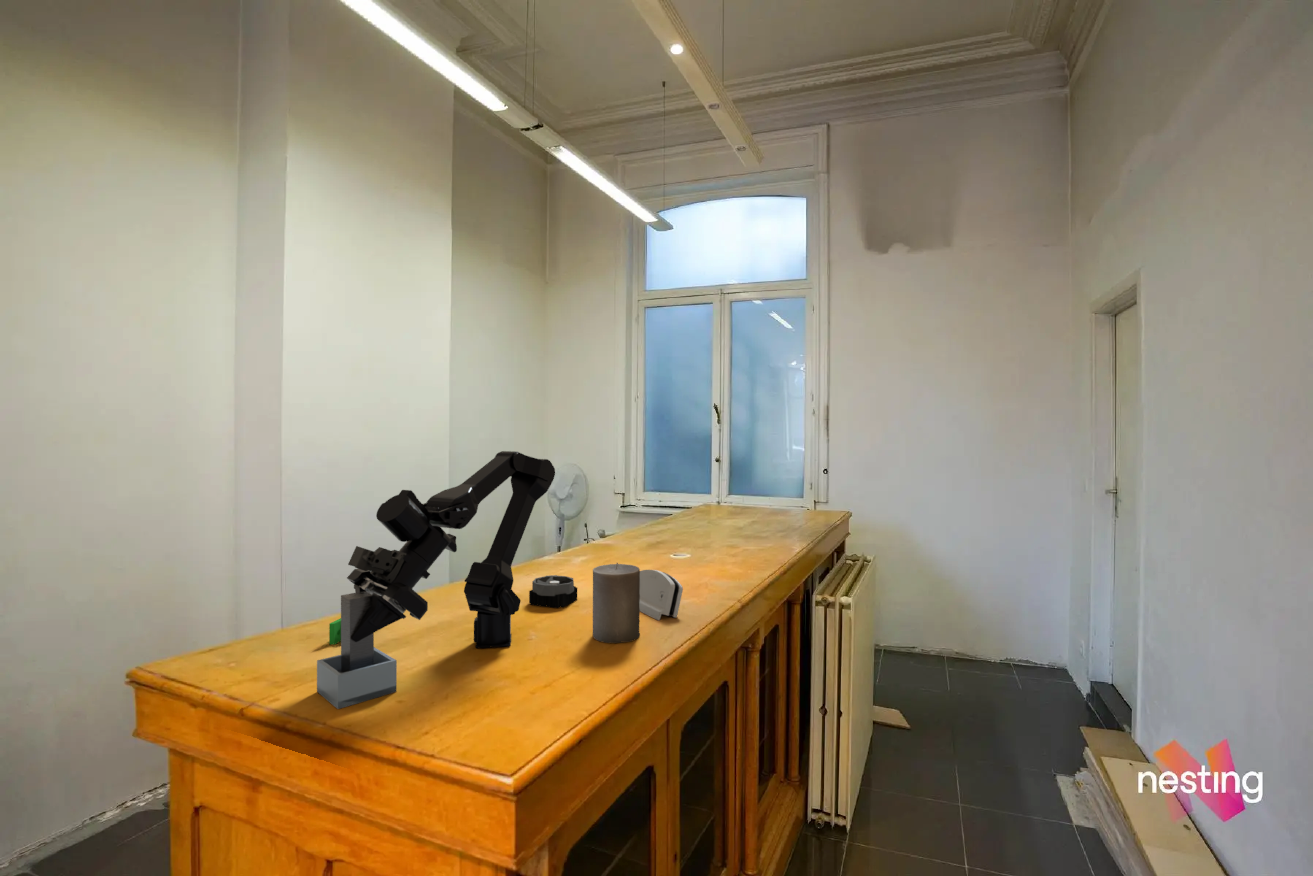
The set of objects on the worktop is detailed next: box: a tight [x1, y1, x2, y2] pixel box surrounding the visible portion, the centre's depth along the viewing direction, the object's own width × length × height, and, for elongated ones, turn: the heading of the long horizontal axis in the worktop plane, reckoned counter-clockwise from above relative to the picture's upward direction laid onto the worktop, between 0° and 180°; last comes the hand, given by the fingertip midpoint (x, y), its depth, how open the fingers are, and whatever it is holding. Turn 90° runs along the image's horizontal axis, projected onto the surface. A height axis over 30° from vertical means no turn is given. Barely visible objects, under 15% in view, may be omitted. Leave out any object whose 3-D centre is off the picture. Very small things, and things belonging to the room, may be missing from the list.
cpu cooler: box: [528, 574, 578, 609], centre depth 153 cm, size 10×6×10 cm
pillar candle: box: [592, 562, 641, 644], centre depth 128 cm, size 10×10×15 cm
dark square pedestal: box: [337, 591, 375, 673], centre depth 99 cm, size 5×5×13 cm
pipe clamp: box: [328, 617, 341, 645], centre depth 126 cm, size 10×4×4 cm, turn 174°
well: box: [316, 646, 398, 710], centre depth 100 cm, size 9×9×5 cm
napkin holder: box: [639, 569, 684, 621], centre depth 147 cm, size 17×5×10 cm, turn 32°
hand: (348, 637), depth 99 cm, fingers closed on dark square pedestal, 3 cm apart
